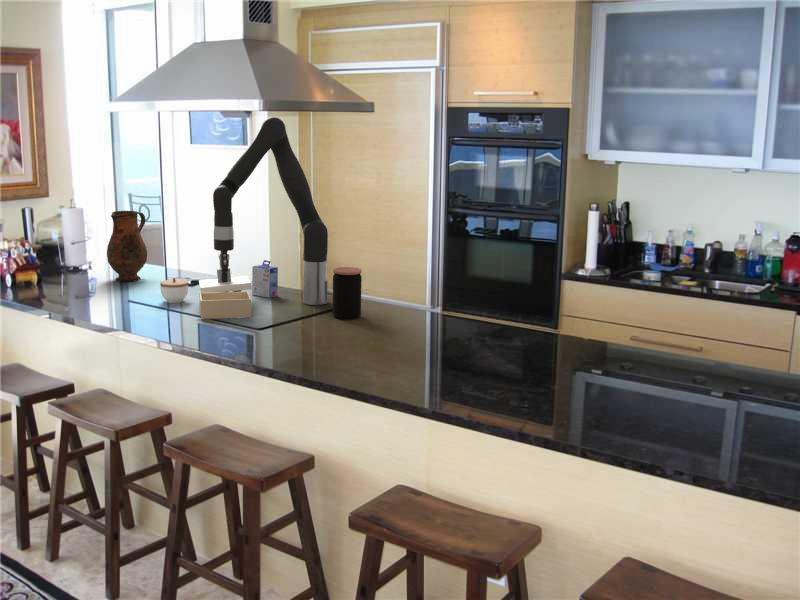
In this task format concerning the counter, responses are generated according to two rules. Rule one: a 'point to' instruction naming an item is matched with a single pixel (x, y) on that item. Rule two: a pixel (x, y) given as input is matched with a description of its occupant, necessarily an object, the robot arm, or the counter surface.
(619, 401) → the counter surface
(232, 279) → the lid
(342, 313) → the coffee jar
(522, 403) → the counter surface
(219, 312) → the base
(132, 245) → the pitcher
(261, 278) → the ink cartridge box
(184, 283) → the lidded jar
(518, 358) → the counter surface
